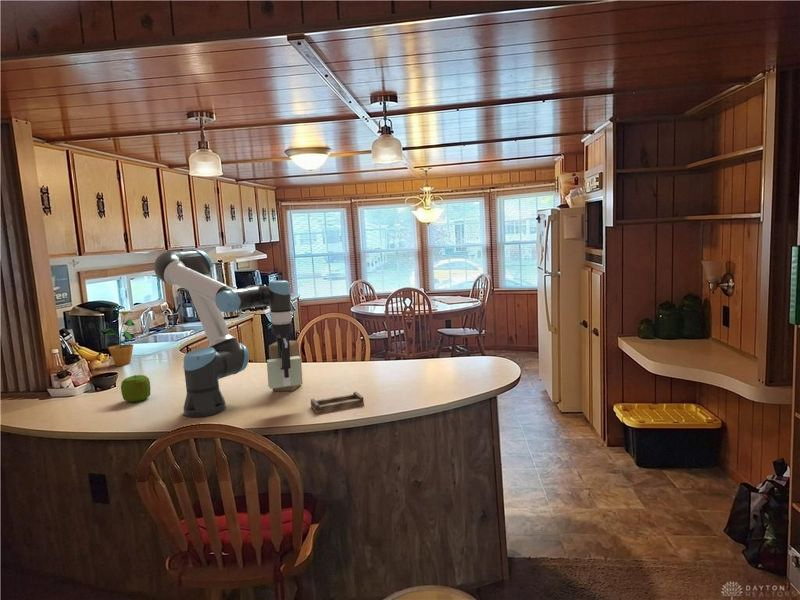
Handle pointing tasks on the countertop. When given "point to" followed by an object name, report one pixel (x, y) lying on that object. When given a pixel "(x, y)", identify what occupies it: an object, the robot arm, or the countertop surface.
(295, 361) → the rectangular block
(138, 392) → the apple
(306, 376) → the countertop surface
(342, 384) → the countertop surface
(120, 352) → the potted plant
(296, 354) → the wooden block
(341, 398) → the track
